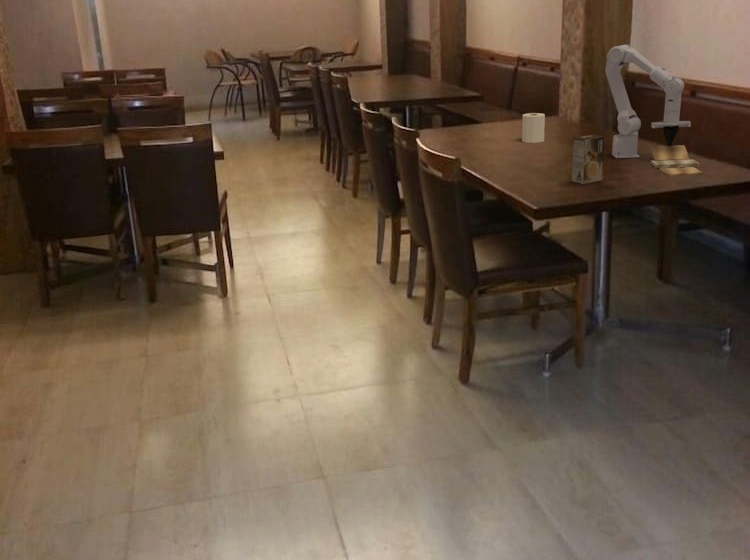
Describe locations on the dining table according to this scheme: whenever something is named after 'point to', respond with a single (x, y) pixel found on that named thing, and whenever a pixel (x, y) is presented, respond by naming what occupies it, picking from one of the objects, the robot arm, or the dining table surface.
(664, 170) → the plank
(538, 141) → the toilet paper
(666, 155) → the board
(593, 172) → the coffee box
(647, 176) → the dining table surface
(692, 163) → the floor board
